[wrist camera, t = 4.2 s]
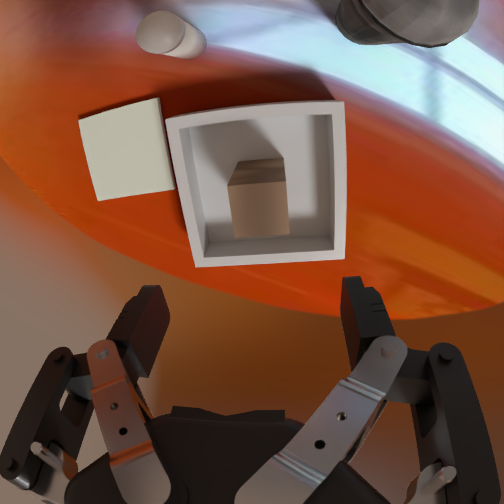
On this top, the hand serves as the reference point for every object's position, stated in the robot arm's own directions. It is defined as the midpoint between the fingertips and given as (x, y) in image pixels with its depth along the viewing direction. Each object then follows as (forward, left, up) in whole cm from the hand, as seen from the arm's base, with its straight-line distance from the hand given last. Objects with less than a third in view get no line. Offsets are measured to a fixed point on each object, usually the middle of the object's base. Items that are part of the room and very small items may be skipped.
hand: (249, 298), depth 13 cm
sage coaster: (-13, +5, -17) cm, 22 cm away
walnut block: (0, 0, -17) cm, 17 cm away
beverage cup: (+10, +15, -17) cm, 25 cm away
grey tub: (0, 0, -17) cm, 17 cm away
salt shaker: (-5, +14, -17) cm, 22 cm away
